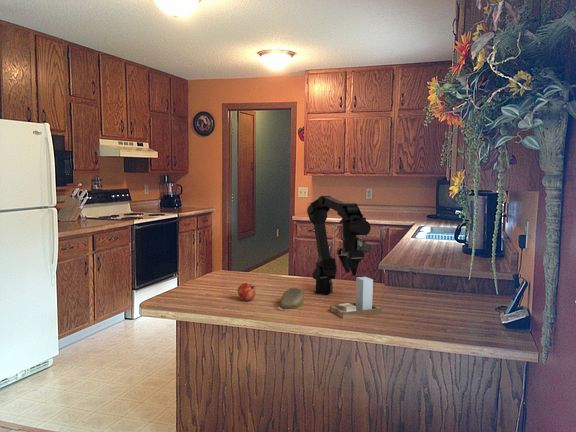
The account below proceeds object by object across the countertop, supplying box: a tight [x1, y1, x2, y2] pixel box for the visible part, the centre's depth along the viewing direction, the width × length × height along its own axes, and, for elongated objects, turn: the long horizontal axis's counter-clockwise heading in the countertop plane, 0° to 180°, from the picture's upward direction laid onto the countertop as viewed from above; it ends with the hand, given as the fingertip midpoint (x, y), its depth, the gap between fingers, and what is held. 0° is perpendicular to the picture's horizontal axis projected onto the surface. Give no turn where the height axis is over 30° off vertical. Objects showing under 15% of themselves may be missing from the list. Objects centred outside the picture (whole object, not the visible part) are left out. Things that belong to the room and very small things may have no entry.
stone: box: [279, 287, 305, 311], centre depth 187 cm, size 9×14×10 cm, turn 171°
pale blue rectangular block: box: [355, 276, 374, 311], centre depth 178 cm, size 5×4×12 cm
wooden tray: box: [329, 302, 383, 320], centre depth 177 cm, size 10×16×3 cm, turn 112°
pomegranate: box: [236, 282, 257, 302], centre depth 195 cm, size 7×7×10 cm
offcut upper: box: [338, 302, 356, 312], centre depth 176 cm, size 5×4×2 cm
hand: (350, 274), depth 190 cm, fingers open, 9 cm apart
